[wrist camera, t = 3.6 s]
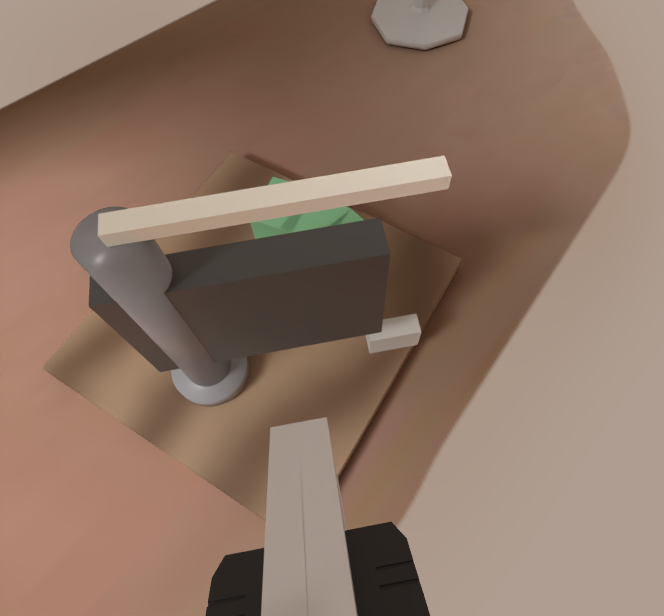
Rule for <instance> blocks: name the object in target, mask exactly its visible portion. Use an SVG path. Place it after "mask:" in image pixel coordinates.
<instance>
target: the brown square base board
mask: <svg viewBox="0 0 664 616" xmlns="http://www.w3.org/2000/svg"><path fill="white" fill-rule="evenodd" d="M272 177H276V178H279V179H282V180H286V181H289V182H291V181H294V180H292V179H290V178H288V177H286V176H283V175H281V174H279V173H277V172H275V171H273V170H270V169H268V168H266V167H264V166H262V165H260V164H257V163H255V162H253V161H251V160H249V159H247V158H245V157H242V156H240V155H238V154H236V153H234V152H231V153H230V154H229V155H228V156H227V157H226V158H225V160H224V161H223V162H222V163H221V164H220V165H219V166H218V168H217V169H216V170H215V171H214V172H213V173H212V174H211V176H210V177H209V178H208V179H207V180H206V181H205V182H204V184H203V185H202V186H201V187H200V188H199V189H198V190H197V192H196V193H195V194H194V195H193V196H192V197H191V198H195V197H201V196H207V195H213V194H219V193H225V192H231V191H237V190H243V189H249V188H255V187H261V186H267V185H268V184H269V183H270V181H271V179H272ZM347 207H349V208H351V209H352V210H353V211H354V212H355V213H357V214H358V215H359V216H360V217H361V218H362V219H364V220H368V219H374V217H372V216H370V215H368V214H365V213H363V212H361V211H359V210H357V209H355V208H352V207H350V206H347ZM382 224H383V228H384V231H385V235H386V239H387V243H388V246H389V250H390V262H389V271H388V280H387V288H386V297H385V306H384V314H383V319H389V318H394V317H400V316H405V315H411V314H417V318H418V321H419V325H420V329H421V333H422V331H423V330H424V328H425V326H426V324H427V323H428V321H429V319H430V317H431V316H432V314H433V312H434V310H435V309H436V307H437V305H438V303H439V302H440V300H441V298H442V296H443V295H444V293H445V291H446V289H447V288H448V286H449V284H450V282H451V281H452V279H453V277H454V275H455V274H456V272H457V270H458V268H459V266H460V263H461V261H462V258H460V257H458V256H456V255H454V254H452V253H450V252H447V251H445V250H443V249H441V248H439V247H437V246H434V245H432V244H430V243H428V242H426V241H424V240H421V239H419V238H417V237H415V236H413V235H411V234H409V233H406V232H404V231H402V230H400V229H398V228H396V227H393V226H391V225H389V224H387V223H385V222H383V221H382ZM252 239H255V236H254V233H253V230H252V227H251V224H250V223H246V224H240V225H234V226H228V227H222V228H216V229H210V230H205V231H199V232H193V233H187V234H181V235H175V236H169V237H164V238H158V239H155V240H156V242H157V244H158V245H159V247H160V248H161V250H162V251H163V253H164V254H171V253H176V252H182V251H188V250H194V249H200V248H205V247H211V246H217V245H223V244H229V243H235V242H240V241H246V240H252ZM413 347H414V346H408V347H403V348H397V349H392V350H386V351H381V352H375V353H369V349H368V344H367V340H366V335H363V336H358V337H352V338H347V339H341V340H336V341H330V342H325V343H319V344H314V345H308V346H303V347H297V348H291V349H286V350H280V351H275V352H269V353H264V354H258V355H253V356H247V358H248V361H249V375H248V379H247V381H246V384H245V385H244V387H243V389H242V390H241V391H240V392H239V394H238V395H237V396H235V397H234V398H233V399H232V400H230V401H228V402H226V403H224V404H222V405H218V406H213V407H205V406H199V405H196V404H194V403H192V402H190V401H189V400H188V399H186V398H185V397H184V396H183V395H182V394H181V393H180V392H179V391H178V390H177V388H176V387H175V385H174V383H173V380H172V375H171V370H170V371H164V372H159V371H158V370H157V369H156V368H155V367H154V366H153V365H152V364H151V363H150V362H148V361H147V360H146V359H145V358H144V357H143V356H142V355H141V354H140V353H139V352H138V351H137V350H135V349H134V348H133V347H132V346H131V345H130V344H129V343H128V342H127V341H126V340H125V339H124V338H122V337H121V336H120V335H119V334H118V333H117V332H116V331H115V330H114V329H113V328H112V327H111V326H109V325H108V324H107V323H106V322H105V321H104V320H103V319H102V318H101V317H100V316H99V315H98V314H96V313H95V312H94V311H93V310H92V311H91V313H90V314H89V315H88V316H87V317H86V318H85V319H84V321H83V322H82V323H81V324H80V325H79V326H78V327H77V329H76V330H75V331H74V332H73V333H72V334H71V335H70V337H69V338H68V339H67V340H66V341H65V342H64V343H63V345H62V346H61V347H60V348H59V349H58V350H57V351H56V353H55V354H54V355H53V356H52V357H51V358H50V359H49V361H48V362H47V363H46V364H45V365H44V366H43V367H42V369H44V370H45V371H47V372H48V373H50V374H51V375H52V376H54V377H55V378H57V379H58V380H60V381H61V382H63V383H64V384H66V385H67V386H69V387H70V388H72V389H73V390H74V391H76V392H77V393H79V394H80V395H82V396H83V397H85V398H86V399H88V400H89V401H91V402H92V403H94V404H95V405H96V406H98V407H99V408H101V409H102V410H104V411H105V412H107V413H108V414H110V415H111V416H113V417H114V418H115V419H117V420H118V421H120V422H121V423H123V424H124V425H126V426H127V427H129V428H130V429H132V430H133V431H135V432H136V433H137V434H139V435H140V436H142V437H143V438H145V439H146V440H148V441H149V442H151V443H152V444H154V445H155V446H157V447H158V448H159V449H161V450H162V451H164V452H165V453H167V454H168V455H170V456H171V457H173V458H174V459H176V460H177V461H178V462H180V463H181V464H183V465H184V466H186V467H187V468H189V469H190V470H192V471H193V472H195V473H196V474H198V475H199V476H200V477H202V478H203V479H205V480H206V481H208V482H209V483H211V484H212V485H214V486H215V487H217V488H218V489H219V490H221V491H222V492H224V493H225V494H227V495H228V496H230V497H231V498H233V499H234V500H236V501H237V502H239V503H240V504H241V505H243V506H244V507H246V508H247V509H249V510H250V511H252V512H253V513H255V514H256V515H258V516H259V517H261V518H262V519H263V520H265V521H266V506H267V485H268V465H269V445H270V427H276V426H281V425H287V424H292V423H297V422H303V421H308V420H314V419H319V418H324V417H327V422H328V427H329V433H330V438H331V443H332V449H333V454H334V460H335V465H336V471H337V476H338V478H339V476H340V474H341V473H342V471H343V469H344V467H345V466H346V464H347V462H348V460H349V459H350V457H351V455H352V453H353V452H354V450H355V448H356V446H357V445H358V443H359V441H360V439H361V438H362V436H363V434H364V432H365V431H366V429H367V427H368V425H369V424H370V422H371V420H372V418H373V417H374V415H375V413H376V412H377V410H378V408H379V406H380V405H381V403H382V401H383V399H384V398H385V396H386V394H387V392H388V391H389V389H390V387H391V385H392V384H393V382H394V380H395V378H396V377H397V375H398V373H399V371H400V370H401V368H402V366H403V364H404V363H405V361H406V359H407V357H408V356H409V354H410V352H411V350H412V349H413Z"/></svg>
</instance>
